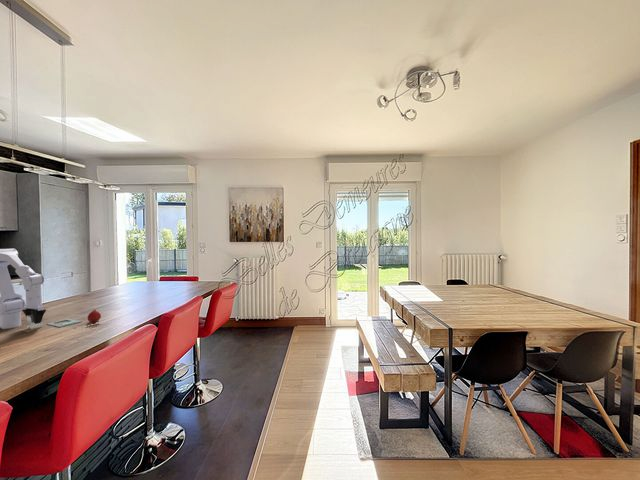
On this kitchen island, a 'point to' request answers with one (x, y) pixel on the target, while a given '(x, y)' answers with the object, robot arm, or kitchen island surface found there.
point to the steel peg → (32, 323)
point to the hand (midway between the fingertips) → (34, 322)
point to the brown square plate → (33, 329)
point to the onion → (94, 316)
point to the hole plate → (64, 323)
